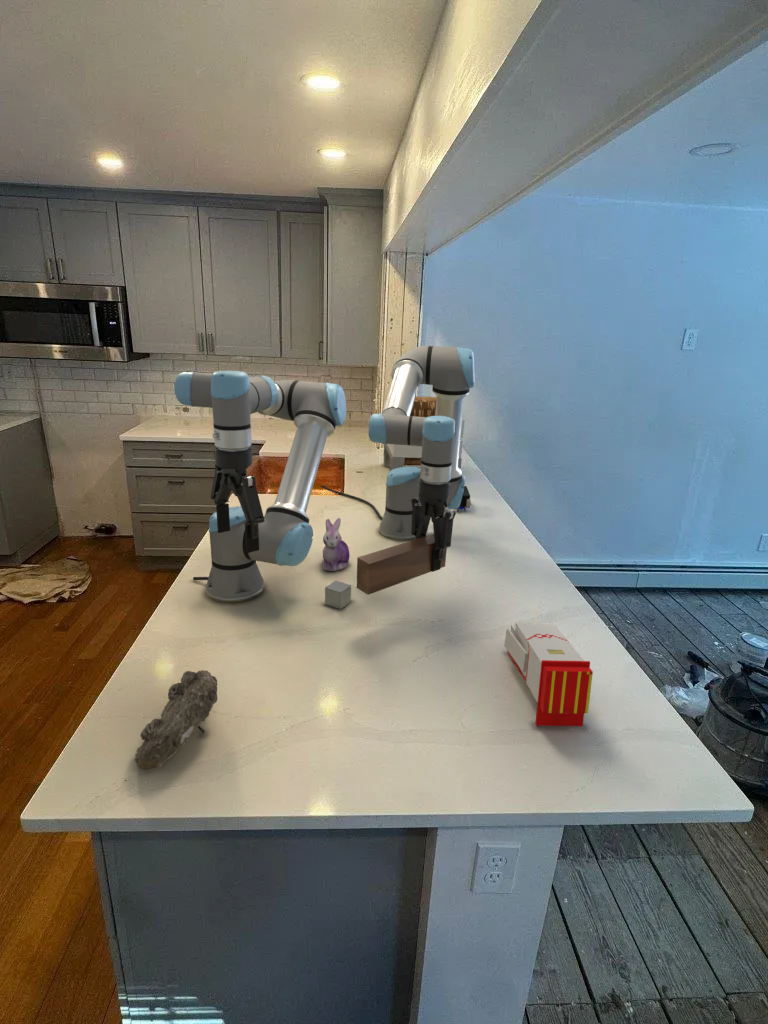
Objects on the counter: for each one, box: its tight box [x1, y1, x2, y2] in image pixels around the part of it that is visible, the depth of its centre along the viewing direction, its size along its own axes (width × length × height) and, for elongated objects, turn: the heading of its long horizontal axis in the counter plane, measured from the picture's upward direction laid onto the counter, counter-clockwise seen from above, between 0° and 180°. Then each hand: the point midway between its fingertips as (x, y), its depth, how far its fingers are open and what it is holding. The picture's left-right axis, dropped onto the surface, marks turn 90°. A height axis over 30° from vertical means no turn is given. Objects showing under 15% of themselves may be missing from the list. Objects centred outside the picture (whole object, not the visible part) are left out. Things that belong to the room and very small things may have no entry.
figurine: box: [322, 517, 351, 572], centre depth 171 cm, size 9×10×15 cm
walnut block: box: [356, 533, 448, 596], centre depth 140 cm, size 4×26×8 cm, turn 131°
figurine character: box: [456, 485, 472, 513], centre depth 228 cm, size 7×8×15 cm
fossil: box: [134, 669, 218, 770], centre depth 103 cm, size 22×10×15 cm
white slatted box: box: [383, 396, 465, 472], centre depth 268 cm, size 34×33×41 cm
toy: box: [503, 622, 594, 727], centre depth 121 cm, size 12×13×30 cm
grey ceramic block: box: [324, 579, 352, 610], centre depth 151 cm, size 5×5×5 cm
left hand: (237, 541), depth 126 cm, fingers open, 13 cm apart
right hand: (428, 566), depth 147 cm, fingers closed on walnut block, 4 cm apart
